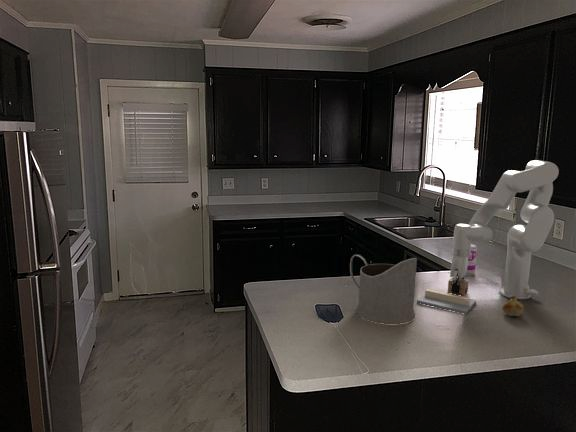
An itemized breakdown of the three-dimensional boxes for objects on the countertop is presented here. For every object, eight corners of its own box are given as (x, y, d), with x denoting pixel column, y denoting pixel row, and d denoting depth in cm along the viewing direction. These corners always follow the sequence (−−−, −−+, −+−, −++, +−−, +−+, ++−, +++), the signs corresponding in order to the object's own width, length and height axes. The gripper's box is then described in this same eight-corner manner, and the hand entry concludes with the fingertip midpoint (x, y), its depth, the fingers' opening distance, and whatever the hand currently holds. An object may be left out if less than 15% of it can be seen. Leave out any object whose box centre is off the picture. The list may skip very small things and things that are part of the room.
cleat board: (475, 303, 200) (476, 294, 200) (465, 315, 188) (466, 305, 187) (429, 293, 212) (430, 284, 211) (416, 303, 199) (417, 294, 198)
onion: (496, 313, 190) (498, 294, 188) (512, 311, 193) (514, 292, 191) (511, 320, 183) (514, 301, 181) (527, 318, 186) (529, 298, 184)
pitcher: (388, 331, 172) (392, 264, 167) (329, 304, 196) (331, 245, 191) (427, 316, 186) (432, 254, 181) (367, 293, 210) (370, 238, 205)
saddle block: (467, 292, 213) (468, 280, 212) (463, 296, 208) (464, 283, 207) (451, 289, 217) (452, 276, 216) (447, 293, 212) (448, 280, 211)
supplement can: (477, 276, 237) (480, 247, 234) (460, 276, 237) (463, 246, 234) (471, 271, 245) (474, 243, 242) (455, 271, 245) (457, 242, 242)
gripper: (458, 246, 218) (454, 284, 221) (446, 254, 204) (443, 294, 207) (475, 249, 214) (471, 287, 217) (464, 257, 200) (460, 298, 203)
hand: (457, 290), depth 212 cm, fingers closed on saddle block, 6 cm apart
